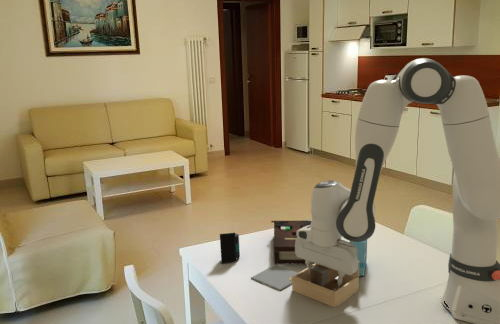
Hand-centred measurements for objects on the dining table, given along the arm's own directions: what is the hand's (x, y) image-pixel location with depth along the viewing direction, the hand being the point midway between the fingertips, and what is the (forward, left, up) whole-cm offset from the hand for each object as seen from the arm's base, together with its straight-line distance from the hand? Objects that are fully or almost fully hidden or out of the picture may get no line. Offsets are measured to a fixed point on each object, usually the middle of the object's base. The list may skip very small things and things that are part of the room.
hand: (324, 278), depth 138 cm
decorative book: (+25, -19, -5) cm, 32 cm away
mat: (+16, +3, -4) cm, 17 cm away
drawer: (0, +1, -4) cm, 4 cm away
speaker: (+38, +3, -4) cm, 38 cm away
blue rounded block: (0, -19, -4) cm, 20 cm away
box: (0, 0, -4) cm, 4 cm away
